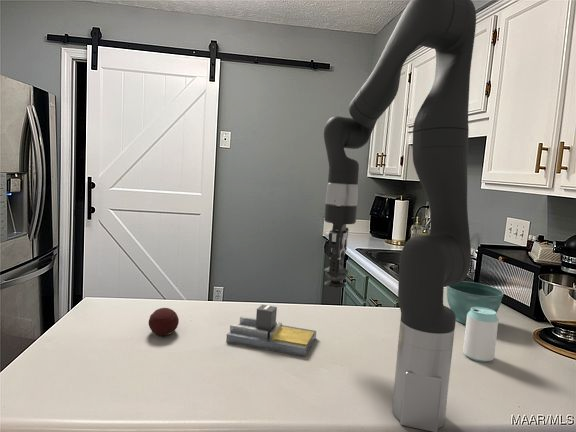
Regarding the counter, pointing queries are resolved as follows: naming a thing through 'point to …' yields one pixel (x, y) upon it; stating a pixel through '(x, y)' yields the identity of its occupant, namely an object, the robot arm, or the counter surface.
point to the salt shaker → (336, 280)
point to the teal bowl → (472, 298)
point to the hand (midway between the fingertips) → (336, 272)
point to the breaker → (266, 317)
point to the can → (480, 334)
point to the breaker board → (272, 337)
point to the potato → (163, 321)
